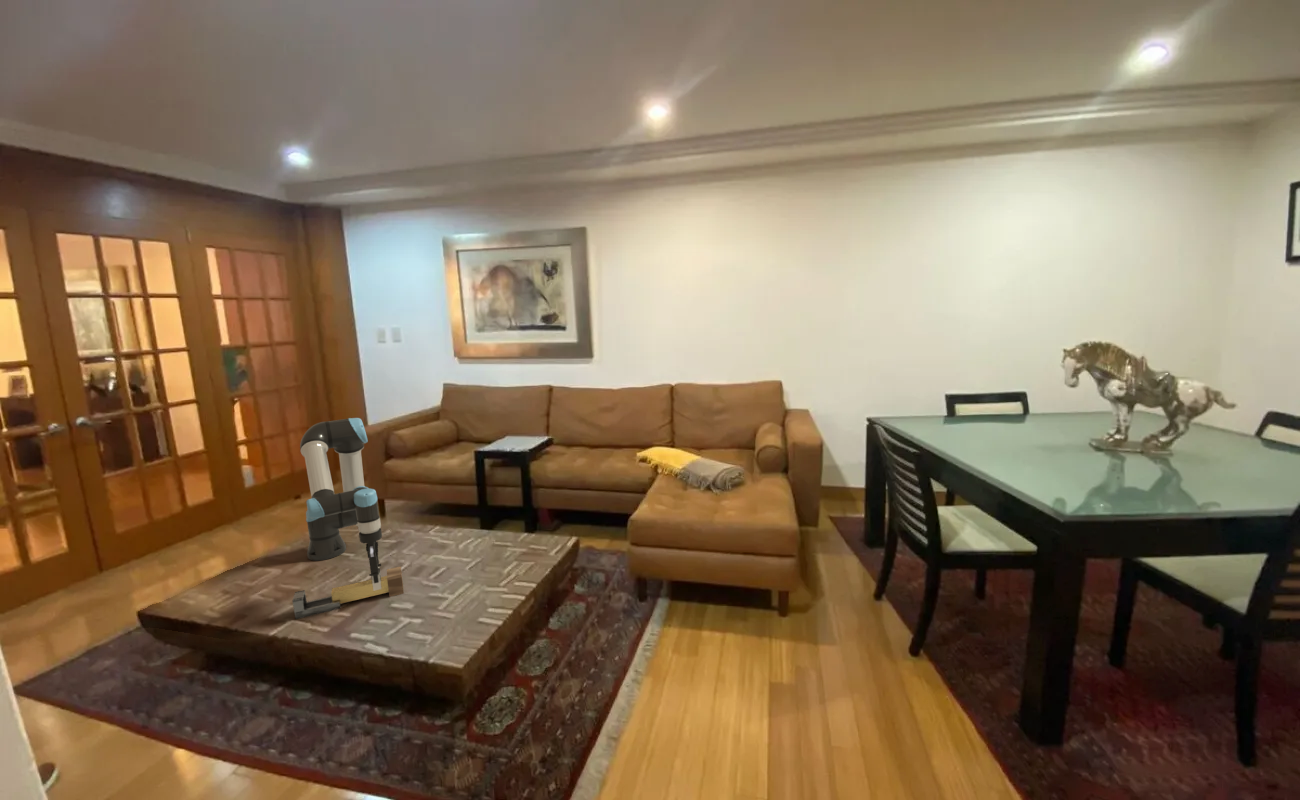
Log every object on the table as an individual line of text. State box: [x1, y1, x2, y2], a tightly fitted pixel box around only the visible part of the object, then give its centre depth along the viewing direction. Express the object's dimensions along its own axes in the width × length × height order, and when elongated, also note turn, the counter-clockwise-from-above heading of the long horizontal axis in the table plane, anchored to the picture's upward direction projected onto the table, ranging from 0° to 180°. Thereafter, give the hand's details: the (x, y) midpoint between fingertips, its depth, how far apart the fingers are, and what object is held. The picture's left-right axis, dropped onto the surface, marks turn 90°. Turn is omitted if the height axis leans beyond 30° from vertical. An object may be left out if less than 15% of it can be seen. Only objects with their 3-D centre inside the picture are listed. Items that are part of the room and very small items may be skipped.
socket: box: [386, 565, 405, 598], centre depth 205 cm, size 7×5×8 cm
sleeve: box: [291, 589, 342, 620], centre depth 194 cm, size 6×14×7 cm, turn 116°
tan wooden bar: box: [330, 568, 389, 605], centre depth 200 cm, size 4×22×9 cm, turn 116°
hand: (377, 586), depth 202 cm, fingers closed on tan wooden bar, 4 cm apart
